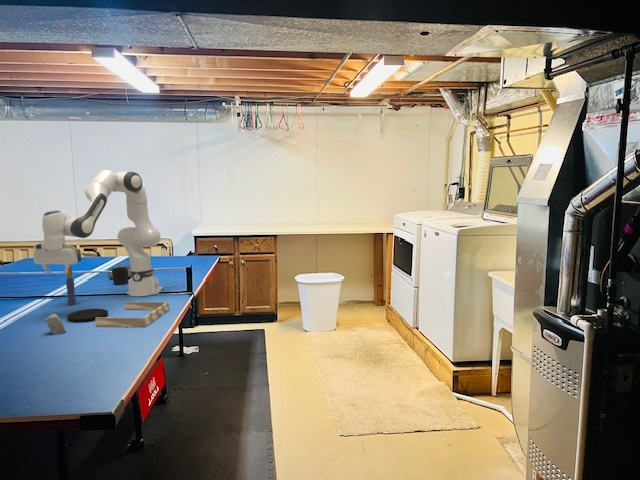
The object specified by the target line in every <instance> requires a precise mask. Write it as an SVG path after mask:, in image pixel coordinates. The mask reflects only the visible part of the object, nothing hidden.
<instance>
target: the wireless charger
mask: <svg viewBox="0 0 640 480" xmlns="http://www.w3.org/2000/svg"><path fill="white" fill-rule="evenodd" d="M108 316H109V311H108V310H107V309H104V308H87V309H80V310H76V311H74V312H71V313H69V314H67V315H66V319H67V322H69V323H75V324H77V323H78V324H81V323H90V322H91V323H92V322H95V318H96V317H108Z"/></svg>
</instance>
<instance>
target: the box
mask: <svg viewBox="0 0 640 480" xmlns="http://www.w3.org/2000/svg"><path fill="white" fill-rule="evenodd" d="M124 310H127V311H151V312H150V313H148V314H147V315H145V316H144V317H116V316H115V317H110V316H109V317H108V316H107V317H96V318H95V321H94V322H95V327H105V328H106V327H107V328H108V327H110V328H111V327H112V328H113V327H115V328H116V327H117V328H122V327H123V328H146V327H147V326H148V325H150V324H151V323H153V322H154V321H155V320H157V319H158V318H159V317H161V316H162V315H164V314H165V313H166V312H168V311H169V310H170V302H169V301H124Z"/></svg>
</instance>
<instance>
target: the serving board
mask: <svg viewBox="0 0 640 480" xmlns="http://www.w3.org/2000/svg"><path fill="white" fill-rule="evenodd" d="M124 265H125V266H124ZM126 265H128V266H126ZM121 266H124V267H125V268H127V269H128V278H129V277H130V271H131V270H130V269H131V266H130V262H122V263H118V265H116V266H115V267H109V268H108V275H109V278H111V280H112V281H113V275H112V272H109V271H112V269H113V268H119V267H121ZM130 278H131V277H130Z"/></svg>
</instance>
